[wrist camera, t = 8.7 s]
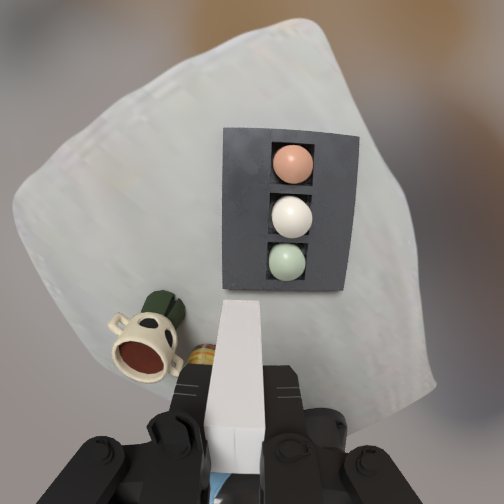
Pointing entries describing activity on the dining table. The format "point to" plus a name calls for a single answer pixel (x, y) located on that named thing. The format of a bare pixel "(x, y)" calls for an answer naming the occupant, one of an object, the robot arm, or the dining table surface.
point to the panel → (317, 189)
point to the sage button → (286, 260)
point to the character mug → (149, 339)
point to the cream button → (291, 216)
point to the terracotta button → (292, 164)
